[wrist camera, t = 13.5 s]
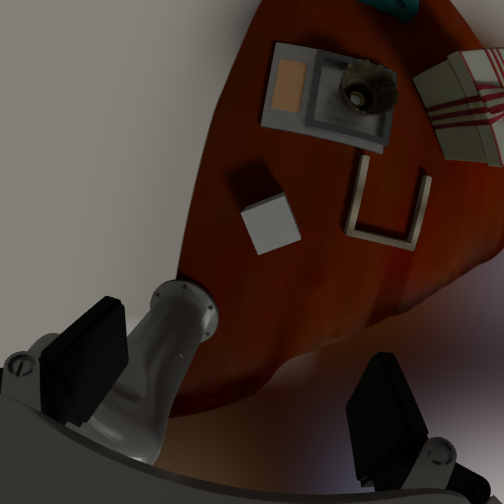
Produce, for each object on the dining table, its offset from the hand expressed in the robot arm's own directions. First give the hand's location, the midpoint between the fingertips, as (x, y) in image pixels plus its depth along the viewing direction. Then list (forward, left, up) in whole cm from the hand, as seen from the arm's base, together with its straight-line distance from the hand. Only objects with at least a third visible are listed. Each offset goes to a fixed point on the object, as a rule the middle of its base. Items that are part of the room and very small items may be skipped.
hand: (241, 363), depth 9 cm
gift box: (+24, -29, -34) cm, 50 cm away
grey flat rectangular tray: (+19, -5, -33) cm, 39 cm away
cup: (+19, -9, -32) cm, 39 cm away
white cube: (-1, 0, -34) cm, 34 cm away
